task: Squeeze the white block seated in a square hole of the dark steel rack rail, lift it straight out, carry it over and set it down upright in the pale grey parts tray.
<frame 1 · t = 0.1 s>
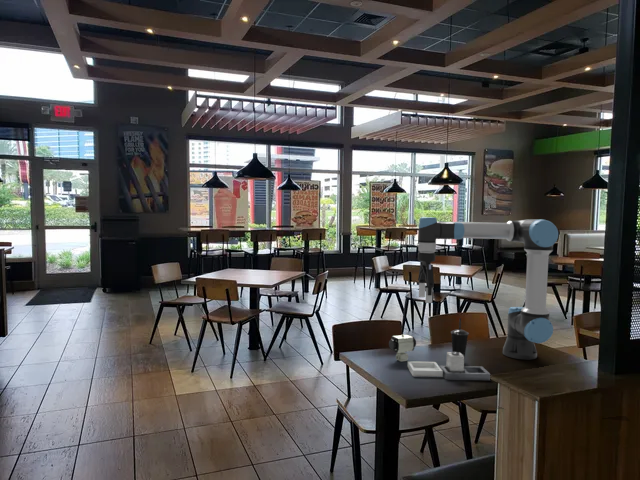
hand: (425, 299, 216), 28 cm above the table, fingers open, 13 cm apart
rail: (464, 375, 201), on the table
white block: (454, 375, 200), resting in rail
tray: (424, 371, 204), on the table
pneumatic valve: (402, 361, 219), on the table
drinking cup: (458, 362, 219), on the table
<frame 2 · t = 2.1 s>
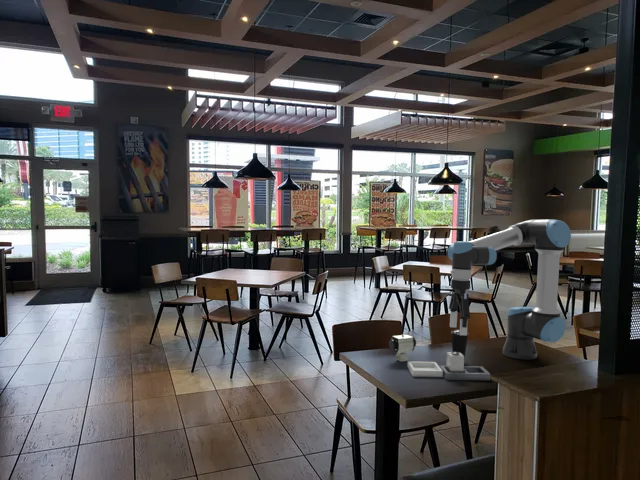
hand: (457, 331, 199), 19 cm above the table, fingers open, 13 cm apart
nothing on the table moved.
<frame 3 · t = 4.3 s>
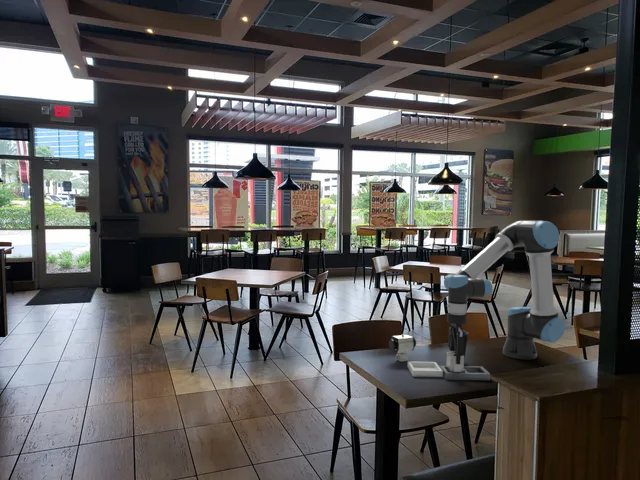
hand: (454, 368, 200), 3 cm above the table, fingers closed on white block, 5 cm apart
white block: (454, 375, 200), resting in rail, touching gripper
everything else where it was.
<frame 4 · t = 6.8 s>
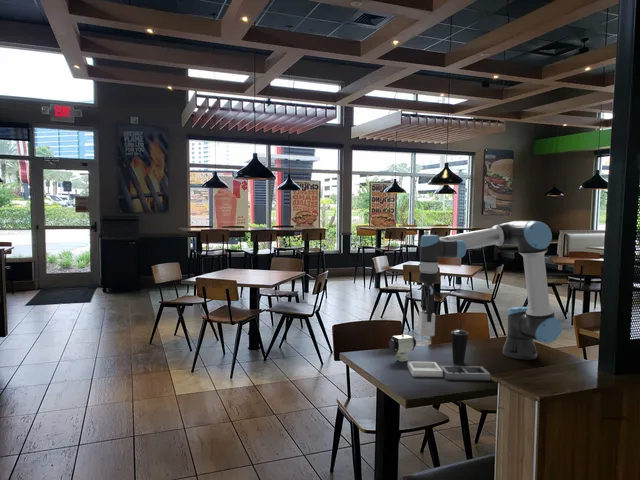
hand: (426, 327, 203), 19 cm above the table, fingers closed on white block, 5 cm apart
white block: (426, 334, 203), point 16 cm above the table, touching gripper
everything else where it was.
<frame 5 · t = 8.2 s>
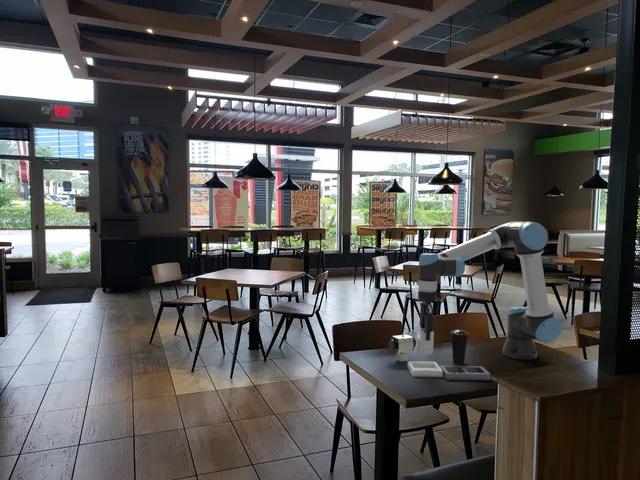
hand: (425, 345, 204), 11 cm above the table, fingers closed on white block, 5 cm apart
white block: (424, 352, 204), point 8 cm above the table, touching gripper
everything else where it was.
when the fingers open (5 cm above the table, at t = 9.6 s): white block drops 2 cm, resting on tray.
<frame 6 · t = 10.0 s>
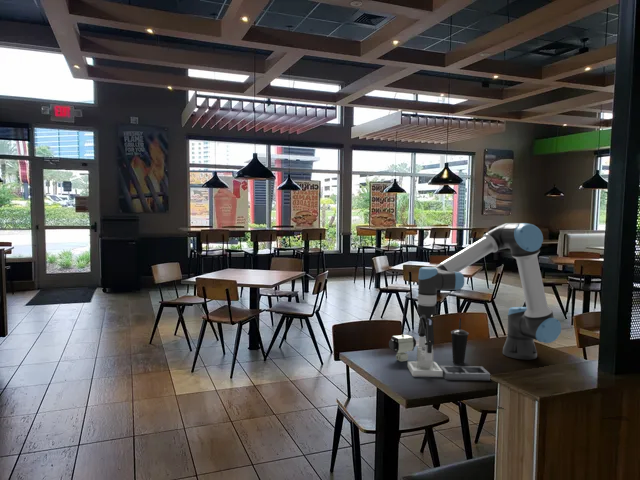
hand: (425, 355, 204), 7 cm above the table, fingers open, 11 cm apart
white block: (424, 370, 204), point 1 cm above the table, touching tray
everything else where it was.
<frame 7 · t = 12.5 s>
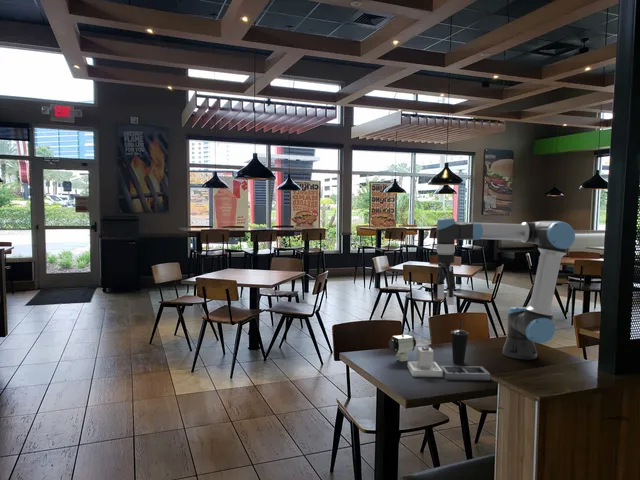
hand: (445, 301, 215), 28 cm above the table, fingers open, 13 cm apart
nothing on the table moved.
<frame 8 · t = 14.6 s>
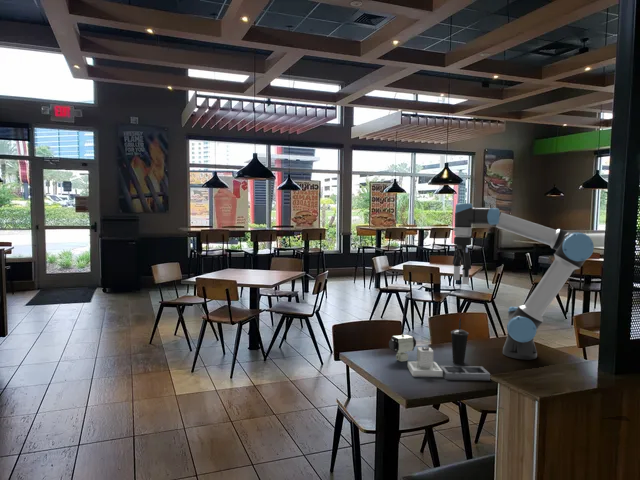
hand: (460, 282, 228), 35 cm above the table, fingers open, 13 cm apart
nothing on the table moved.
at the end: white block inside the target area on the tray (0.0 cm from its centre), point 0.6 cm above the tray's base; white block tilted 0°; the gripper is holding nothing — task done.
